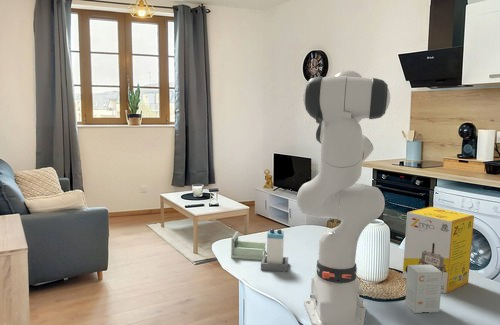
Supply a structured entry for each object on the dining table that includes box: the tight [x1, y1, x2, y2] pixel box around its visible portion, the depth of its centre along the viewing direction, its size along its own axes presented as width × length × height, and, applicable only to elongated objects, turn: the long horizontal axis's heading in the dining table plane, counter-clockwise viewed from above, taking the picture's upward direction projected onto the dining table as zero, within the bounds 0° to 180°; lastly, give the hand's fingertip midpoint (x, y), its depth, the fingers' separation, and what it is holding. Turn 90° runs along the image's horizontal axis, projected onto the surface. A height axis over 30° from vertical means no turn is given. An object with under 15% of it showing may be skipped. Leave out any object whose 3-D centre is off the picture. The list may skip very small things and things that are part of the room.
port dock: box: [230, 230, 266, 261], centre depth 171 cm, size 12×13×8 cm
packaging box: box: [402, 206, 475, 294], centre depth 147 cm, size 16×16×25 cm
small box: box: [404, 265, 442, 314], centre depth 126 cm, size 8×6×13 cm
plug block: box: [266, 228, 285, 264], centre depth 158 cm, size 5×6×15 cm
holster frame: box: [260, 255, 289, 273], centre depth 158 cm, size 9×10×2 cm
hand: (309, 195), depth 154 cm, fingers open, 8 cm apart
